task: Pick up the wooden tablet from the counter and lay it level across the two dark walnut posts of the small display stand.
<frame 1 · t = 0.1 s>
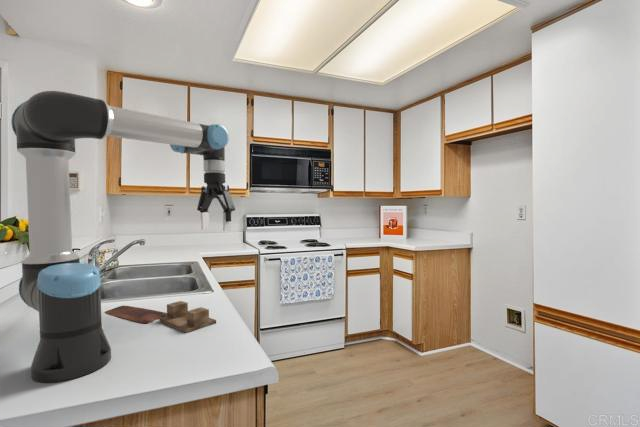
hand: (215, 230, 125), 28 cm above the worktop, tool pointing down, fingers open, 13 cm apart
walnut stand: (187, 322, 108), on the worktop
wooden tablet: (135, 316, 117), on the worktop
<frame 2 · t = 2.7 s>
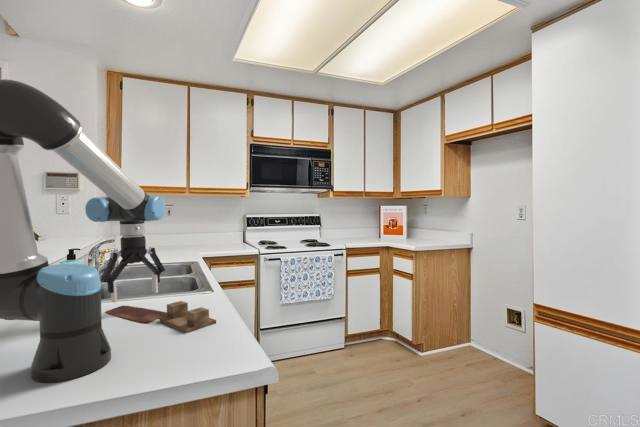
hand: (135, 296, 117), 6 cm above the worktop, tool pointing down, fingers open, 13 cm apart
nothing on the worktop moved.
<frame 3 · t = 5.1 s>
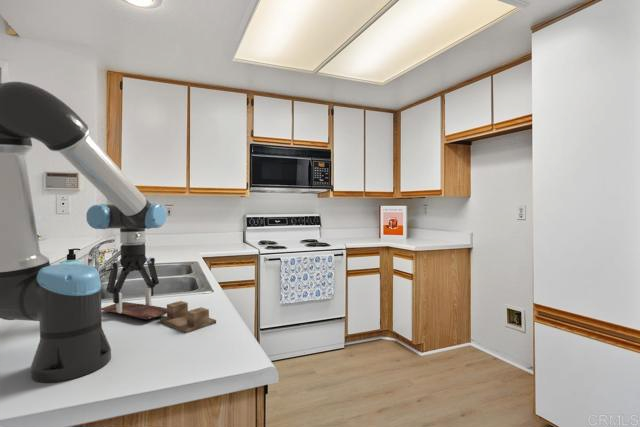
hand: (134, 308, 117), 2 cm above the worktop, tool pointing down, fingers closed on wooden tablet, 9 cm apart
wooden tablet: (134, 311, 117), point 1 cm above the worktop, touching gripper
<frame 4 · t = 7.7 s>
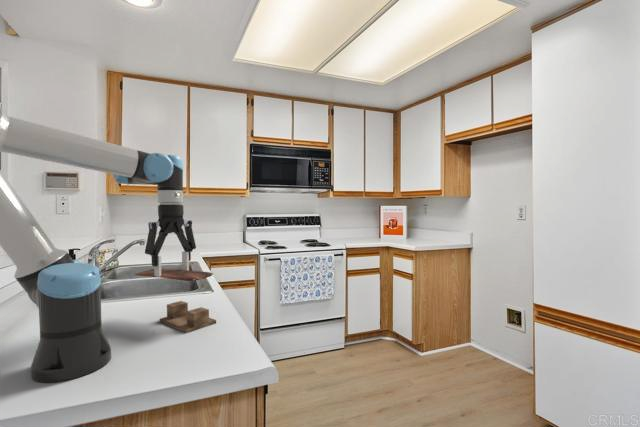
hand: (172, 273, 109), 15 cm above the worktop, tool pointing down, fingers closed on wooden tablet, 9 cm apart
wooden tablet: (172, 276, 109), point 14 cm above the worktop, touching gripper
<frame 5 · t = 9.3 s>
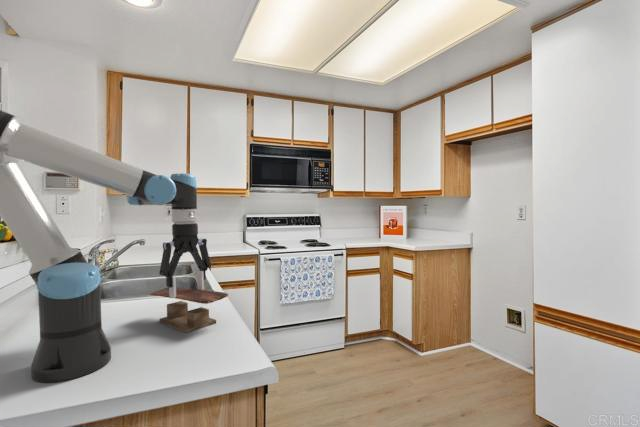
hand: (187, 293, 107), 9 cm above the worktop, tool pointing down, fingers closed on wooden tablet, 9 cm apart
wooden tablet: (188, 296, 107), point 8 cm above the worktop, touching gripper
when the fingers open (7 cm above the worktop, at t = 10.6 s): wooden tablet drops 1 cm, resting on walnut stand.
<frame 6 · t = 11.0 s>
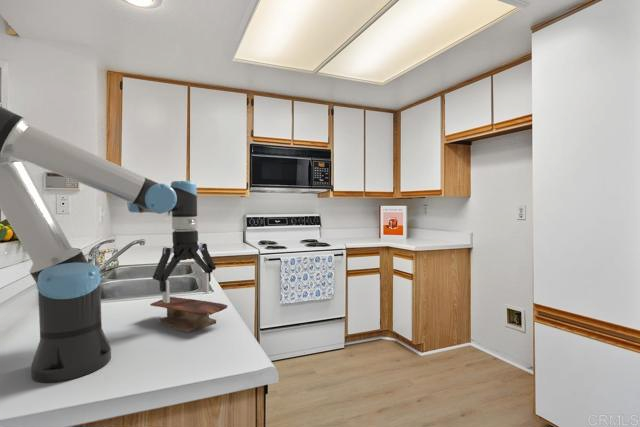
hand: (186, 297, 107), 8 cm above the worktop, tool pointing down, fingers open, 13 cm apart
wooden tablet: (187, 307, 107), point 5 cm above the worktop, touching walnut stand
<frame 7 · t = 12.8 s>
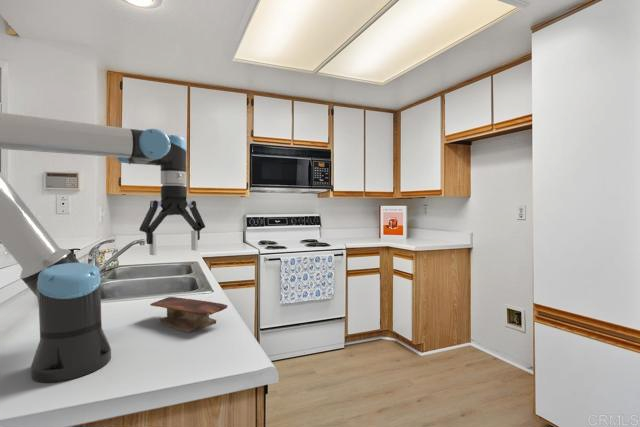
hand: (174, 252, 107), 22 cm above the worktop, tool pointing down, fingers open, 13 cm apart
nothing on the worktop moved.
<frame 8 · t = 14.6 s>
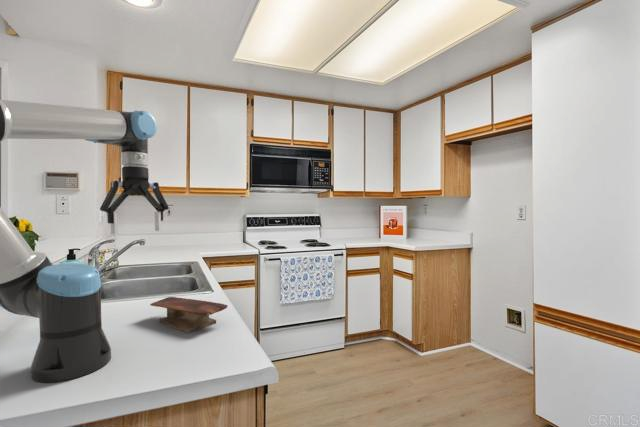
hand: (137, 232, 110), 29 cm above the worktop, tool pointing down, fingers open, 13 cm apart
nothing on the worktop moved.
at the end: wooden tablet inside the target area on the walnut stand (0.3 cm from its centre), point 4.8 cm above the walnut stand's base; wooden tablet tilted 1°; the gripper is holding nothing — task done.
